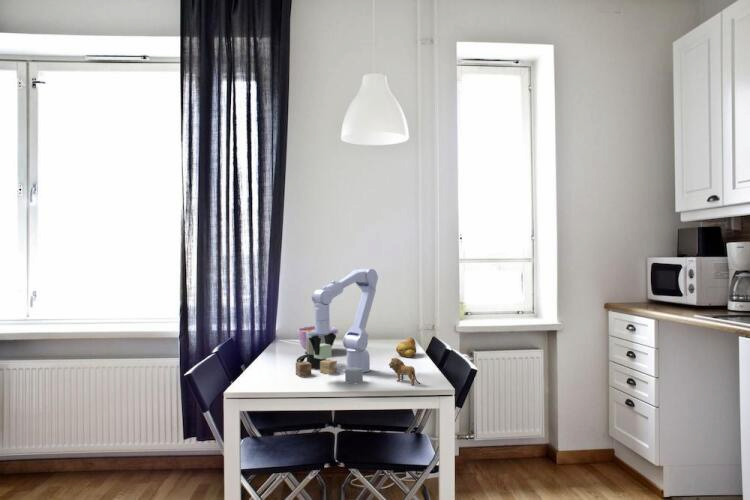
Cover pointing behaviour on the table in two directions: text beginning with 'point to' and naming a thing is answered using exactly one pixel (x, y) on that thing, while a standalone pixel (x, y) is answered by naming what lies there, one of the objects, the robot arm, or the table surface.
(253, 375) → the table surface
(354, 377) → the slate grey block
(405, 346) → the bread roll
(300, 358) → the milk frother
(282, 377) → the table surface
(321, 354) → the sage painted block
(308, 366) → the walnut block
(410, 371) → the lion figurine
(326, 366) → the oak block
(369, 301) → the robot arm
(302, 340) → the bowl of food
